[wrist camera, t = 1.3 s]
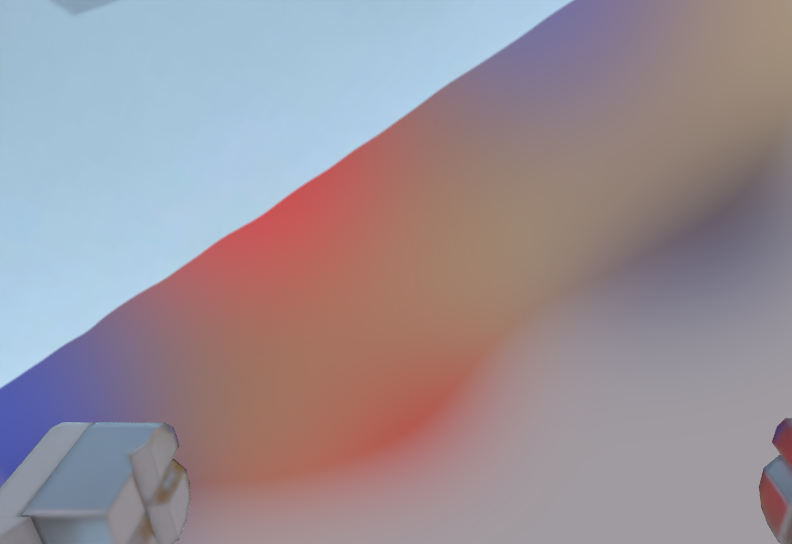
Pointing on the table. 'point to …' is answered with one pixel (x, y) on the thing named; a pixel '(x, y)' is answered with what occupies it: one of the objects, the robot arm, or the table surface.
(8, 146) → the table surface
